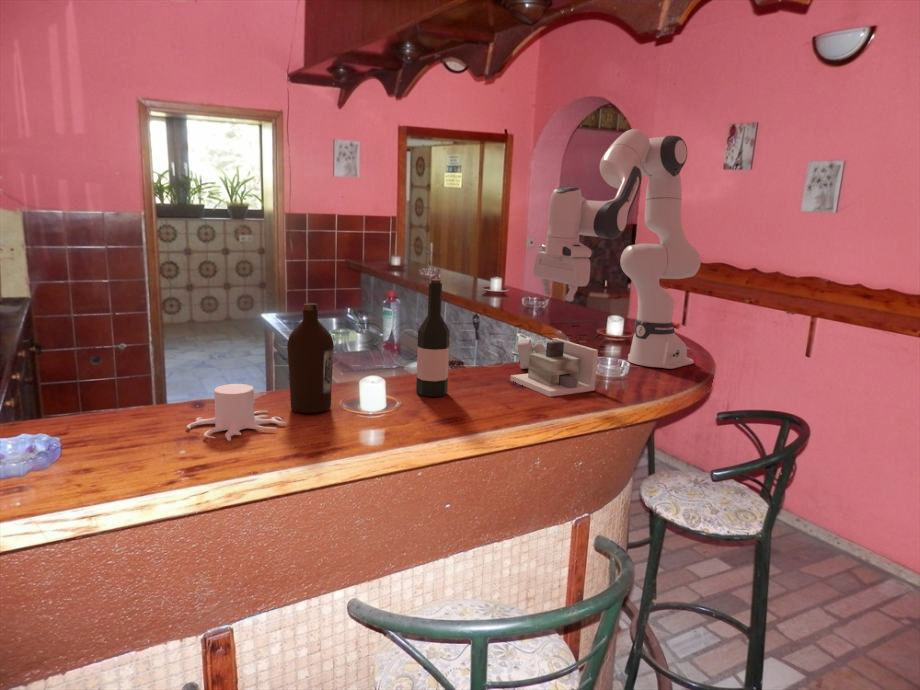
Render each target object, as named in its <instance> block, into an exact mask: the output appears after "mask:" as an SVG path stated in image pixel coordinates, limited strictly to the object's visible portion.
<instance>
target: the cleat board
mask: <svg viewBox="0 0 920 690" xmlns="http://www.w3.org/2000/svg"><path fill="white" fill-rule="evenodd" d="M551 339H552V340H551V342H557V341H562V342H564V351H563V353H564V354H567V355H570V356H573V357H577V358H580V363H579V375H578V383H577V379H576V378H573V377H571V376H568V375H565V374H562V375H559V385H557V386H548V385H545V384H543V383H540V382H537V381H535V380H532V379H530V378H528V372H527V373H521V374H520V373H519V374H511V375H510V381H511V382H513V381H514V382H513V383H515V382H516V384H518V385H520V386H522V385H523V387H525V388H527V389H530V390H533V391H535V392H537V393H539V394H542V395H545V396H546V397H550V398H552V397H556V396H565V395H573V394H579V393H585V392H586V393H587V392H592V391H593V392H594V391H595V389H596V388H595V387H596V379H597V368H598V367H597V366H598V354H599V350H598V349H596V348H592V347H589V346H585V345H582V344H577V343H575V342H571V341H568V340H566V339H562V338H557V337H553V338H551Z"/></svg>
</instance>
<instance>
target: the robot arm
mask: <svg viewBox="0 0 920 690" xmlns="http://www.w3.org/2000/svg"><path fill="white" fill-rule="evenodd" d="M687 159H688V147H687V143H686V142H685V140H684V139H683V138H682V137H681V136H679V135H666V136H657V137H651V138H649V137H648V135H647V134H646V132H644V131H643V130H640V129H637V128H631V129H628V130H626V131H624V132H623V133H622V134H621V135H619V136H618V137H617V138H616V139H615V140H614V141H613V142H612V143H611V144H610V146H609V147H608V148H607V150H606V151H605V152H604V154H603V156H602V157H601V159H600V162H599V172H600V175H601V177H602V179H603V181H605V182H606V184H607V185H609V186H610V187H612V188H614V189H617V192H616V194H615V197H614V198H612V199H609V200H590V199H589V200H588V199H587V198H585V197H583V196H582V190H581V188H580V187H578V186H571V185H570V186H568V185H567V186H560V187H557V188H555V189H553V191H552V193H551V196H550V199H549V200H550V201H549V205H548V213H547V214H548V215H547V222H548V228H547V229H548V230H547V233H546V239H545V244H542V245H540V246H539V247H538V248H537V251H536V254H535V258H534V263H533V269H532V274H533V276H534V278H539V279H541V285H542V288H543V295H544V296H547V297H548V296H549V297H550V296H552V292H553V288H552V289H551V287H550V286H551V285H550V283H551V281H552V282H557V283H560V284H565V285H568V287H567V288H568V292H567V293H566V294H565V296H564V297H565V298H564V300H565V301H567V302H574V298H575V295H576V292H577V291H578V287H587V285H588V284H589V283H590V278H591V260H590V259H589V258H590V257H592V249H591V248H590V247H588V246H587V245H585V244H583V243H582V242H580V236H588V237H595V238H597V237H598V238H601V239H608V240H614V239H616V238H618V237H619V236H621V235H622V233H624V232H625V229H626V227H627V224H628V222H629V221H628V220H629V215H630V213H631V211H632V208H633V205H634V203H635V200H636V198H637V196H638V193H639V191H640V188H641V184H642V178H643V177H647V179H648V180H647V185H646V191H645V203H644V204H645V205H644V207H645V208H644V225H645V227H646V228H647V229H648V230H649V231H650V232H651V233H652V232H653V233H654V234H656V236H657V237H658V239H659V243H636V244H631V245H627V246H626V247H625V248H624V250H623V251H622V253H621V256H620V258H619V259H620V260H619V263H620V268H621V270H622V271H623V273H624V274H625V275H626V276H627V277H628V278H629V279H630V280H631V281H632V283H633V285H634V287H635V290H636V294H637V312H636V313H637V315H636V319H635V321H634V331H635V332H634V334H633V337H632V341H631V346H630V351H629V353H628V354H627V357H628V358H627V361H628V362H630V363H632V364H634V365H638V366H643V367H650V368H663V369H670V370H671V369H672V370H673V369H676V368H677V369H678V368H681V367H685V366H688V365H689V366H690V365H692V364H694V359H692V358H690V357H687V355H688V347H687V345H686V343H685V342H684V341H682V339H681V338H679V336H678V335H677V334H675V330H676V329H677V330H680V328H681V323H680V322H675V321H674V322H673V314H674V306H675V305H674V304H675V302H674V297H673V296H672V295H671V293H669V292H668V291H666V290H665V289H663V288H662V287H661V285H660V279H664V280H665V279H667V280H668V279H669V280H670V279H671V280H680V279H687V278H692V277H694V276H696V274H697V273H698V272H699V269H700V268H701V263H702V262H701V261H702V260H701V255H700V253H699V251H698V250H697V249H696V248H695V246H693V245H692V244H691V243H690V242H689V240H688V239H687V237H686V234H685V233H684V230H683V227H682V226H683V225H682V195H683V193H682V191H683V189H682V188H683V187H682V179H681V173H680V172H681V170H682V169H683V168H684V166H685V164H686V161H687Z"/></svg>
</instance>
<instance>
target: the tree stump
mask: <svg viewBox="0 0 920 690" xmlns="http://www.w3.org/2000/svg"><path fill="white" fill-rule="evenodd" d="M213 390H214V392H213V394H214V396H213V397H214V399H213V400H214V417H212V418H211V417H210V418H203V417H201V416H200V417H197V418H195V421H193V422H191V423H189V424H187V425H186V426H185V428H186V429H189V430H190V429H191V427H194V426H200V425H207V424H209V425H210V424H211V425H212V424H214V425H215V426H214V427H212V428H210V429H208V430H206V431H205V432H204V433H203V437H205V438H210V439H211V438H212V439H217V438H216V437H215V436H213V435H210V434H213V433H217V432H222V431H223V432H224V431H226V432H225V434H224V437H225V439H226V440H227V441H228V442H229V441H230V442H231V440H232V437H233V436H241V435H242V433H241V430H244V429H250V430H251V429H252V430H267V431H268V430H273V431H274V430H278V428H277V427H271V426H270V427H269V426H262V424H266V423H267V424H268V423H272V424H275V425H277V424H279V425H286V424H287V423H286V421H283V419H282V418H281V417H279V416H272V417H271V418H269V415H267V414H266V415H265V414H262V415H256V414H260V413H270V412H269V411H268V410H256V411H255V404H257V401H256V399H257V398H259V397H262V396H264V395H267V396H268V393H266V391H264V392H256V393H254V392H255V391H254V386H253V385H250V384H245V383H230V384H223V385H219V386H217V387H215V388H214V389H213Z"/></svg>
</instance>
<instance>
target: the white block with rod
mask: <svg viewBox="0 0 920 690" xmlns="http://www.w3.org/2000/svg"><path fill="white" fill-rule="evenodd" d="M517 352H518V358H519V365H520V366H519V367H520V369H521V370H524V369H529V355H530V354H534V353H544V352H546V348H545V346H544V345H543V344H542V343H541V342H536V343H535V344H534V345H533V344H532V339H531V338H527V339H520V340H519V341H518V342H517Z"/></svg>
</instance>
